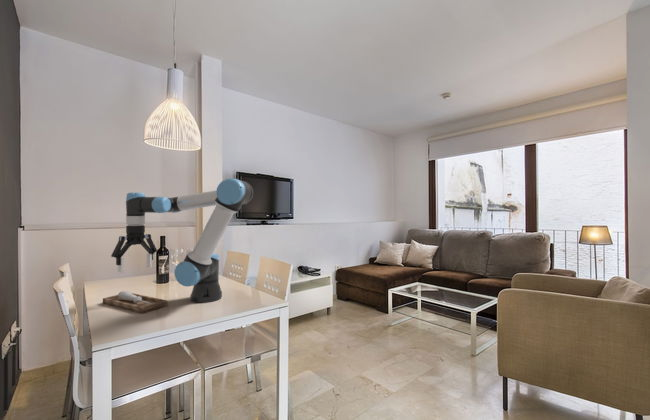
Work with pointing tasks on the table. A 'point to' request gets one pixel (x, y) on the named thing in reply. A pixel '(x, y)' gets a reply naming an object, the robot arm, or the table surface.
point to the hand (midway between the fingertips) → (135, 269)
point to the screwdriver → (130, 297)
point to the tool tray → (136, 307)
